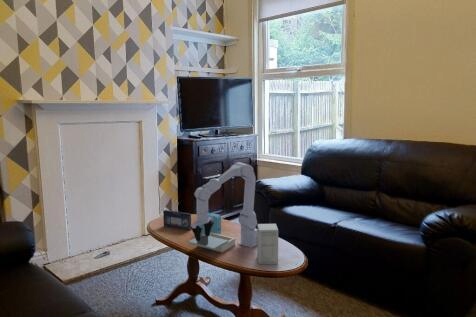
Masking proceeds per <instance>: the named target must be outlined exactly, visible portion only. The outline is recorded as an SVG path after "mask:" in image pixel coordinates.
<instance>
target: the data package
mask: <svg viewBox="0 0 476 317" xmlns="http://www.w3.org/2000/svg"><path fill="white" fill-rule="evenodd" d="M209 216H210V217H213V221H211V222H214V224H213V226H212V228H211V231H210V233H215V234H220V235H222V234H221V233H222V217H221V214H217V213H211V212H208V217H209ZM199 227H200V228H202V231H201V235H202V234H204V235H205V228H204V224H202V225H200V226H199Z"/></svg>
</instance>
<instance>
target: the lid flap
mask: <svg viewBox="0 0 476 317" xmlns="http://www.w3.org/2000/svg"><path fill="white" fill-rule="evenodd" d="M227 242H228V240H224V239H220V238H216V237H212V236H205V235H204V234H201V237H200V241H196V238H195V237H193V238H191V239H190V240H188V241H187V243H188V244H192V245H195V246H197V245H198V246H202V247H205V248H209V249H213V250H214V249H216V248H218V247H220V246H222V245H224V244H225V243H227ZM198 246H197V247H198ZM202 247H201V248H202ZM205 248H204V249H205ZM209 249H208V250H209ZM213 250H212V251H213Z"/></svg>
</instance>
